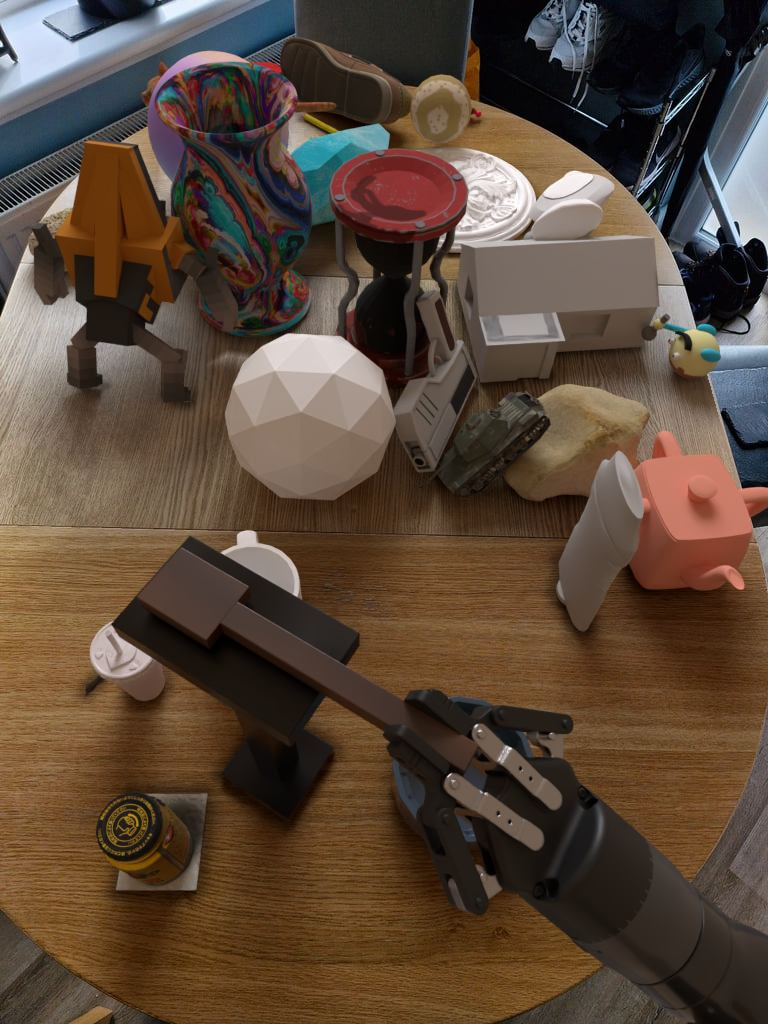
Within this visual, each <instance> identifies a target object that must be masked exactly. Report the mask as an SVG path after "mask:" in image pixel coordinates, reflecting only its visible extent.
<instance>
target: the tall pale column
mask: <svg viewBox="0 0 768 1024" xmlns="http://www.w3.org/2000/svg"><path fill="white" fill-rule="evenodd" d="M643 513H644V506H643V499H642V494H641V490H640V486H639V483H638V480H637V478H636V475H635V472H634V470H633V468H632V466H631V464H630V462H629V461H628V459H627V457H626V456H625V455H624V454H623V453H622V452H621V451H617V452H616V453H615V455H614V456H613V457H612V458H611V459H610V460H606V459H605V460H603V461H602V463H601V465H600V467H599V469H598V471H597V474H596V476H595V479H594V482H593V484H592V487H591V493H590V497H588V499H587V503H586V505H585V507H584V510H583V512H582V513H581V516H580V518H579V520H578V521H579V522H577V523H576V525H574V528H573V529H572V532H571V534H570V537H569V539H568V540H567V543H566V545H565V546H564V547H565V548H564V550H563V552H562V554H561V556H560V559H559V561H558V574H559V575H558V576H559V580H558V582H557V584H556V586H555V594H556V596H557V599H558V600H559V601H560V602H561V604H563V605H565V607H566V610H567V612H568V615H569V617H570V620H571V622H572V625H573V626H574V627H575V628H576V629H577V630H578V631H580V632H586V631H587V630H588V629H589V627H590V625H591V623H592V622H593V620H594V618H595V617H596V615H597V613H598V612H599V610H600V608H601V606H602V605H603V602H605V598H606V596H607V594H608V590H609V588H610V587H611V586H612V583H613V581H614V580H615V578H616V577H617V575H619V573H620V571H621V570H622V569H623V568H625V567H627V566H628V565H629V562H630V561H631V559H632V557H633V556H634V554H635V552H636V550H637V548H638V544H639V528H640V524H641V521H642V518H643Z"/></svg>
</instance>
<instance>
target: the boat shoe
mask: <svg viewBox="0 0 768 1024" xmlns="http://www.w3.org/2000/svg"><path fill="white" fill-rule="evenodd" d="M279 66H280V68H281V73H282V75H283V76H284V77H285V78H287V79H288V80H289V81H290V82H291V83H292V84H293V86H294V87H295V89H296V92H297V102H298V103H311V102H331V103H335V104H336V108H335V109H333V110H327V111H324V112H325V113H332V114H338V115H341V116H343V117H346V118H349V119H351V120H354V121H358V122H360V123H363V124H367V125H368V124H369V125H374V124H380V125H392V124H393V123H396V121H398V120H399V119H402V118H404V117H406V116H408V115H409V114H411V113H410V108H411V100H412V98H413V95H412V93H411V91H410V90H409V89H408V88H407V87H406V86H405V85H403V83H401V81H400V80H399V79H398V78H396V77H395V76H393V75H391V74H390V73H388V72H387V71H385V70H383V69H382V68H380V67H378V66H377V65H375V64H373V63H372V62H370V61H368V60H366V59H364V58H362V57H360V56H358V55H355V54H349V53H346V52H342V51H338V50H336V49H334V48H333V47H331V46H329V45H327V44H324V43H322V42H320V41H319V42H318V41H314V40H313V39H309V38H304V37H289V38H288V39H286V40H285V41H284V43H283V45H282V47H281V50H280V56H279Z"/></svg>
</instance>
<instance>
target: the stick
mask: <svg viewBox="0 0 768 1024" xmlns="http://www.w3.org/2000/svg"><path fill="white" fill-rule="evenodd" d="M103 679H104V678H102V677H101V676H100V675H99V674H98V675H97V676H96V677H95V678H94V679H93V680H91V681H90V682H88V683H86V685H85V689H84V690H85V692H86V693H88V692H90V691H91V690H92V689H93V688H94V687H96V686H97V684H98V683H100V682H101V681H102V680H103Z"/></svg>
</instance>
